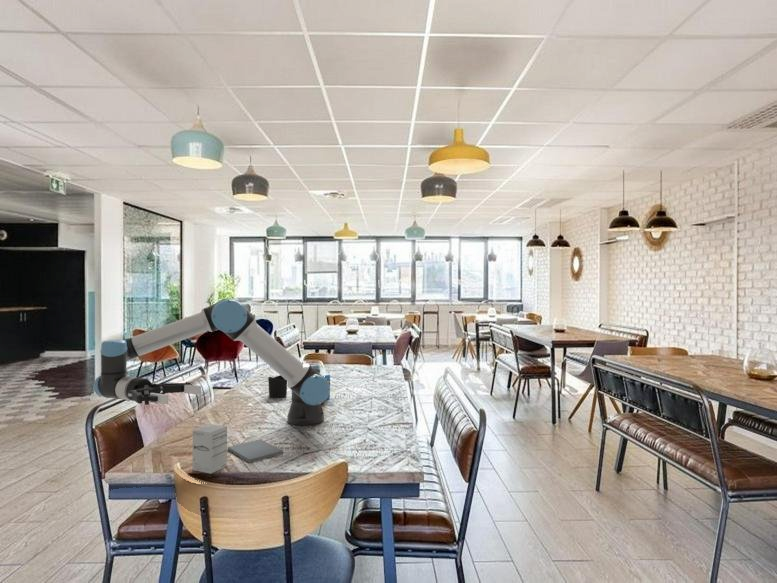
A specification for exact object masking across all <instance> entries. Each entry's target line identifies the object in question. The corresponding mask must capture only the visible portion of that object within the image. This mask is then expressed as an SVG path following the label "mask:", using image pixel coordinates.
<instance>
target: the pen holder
mask: <svg viewBox="0 0 777 583" xmlns="http://www.w3.org/2000/svg"><path fill="white" fill-rule="evenodd" d="M267 379H268V381H267V382H268V397H269V398H271V399H283V398H286V397H287V394H288V392H287V391H288V381H287V380H286V379H284V378H283V377H282V376H281V375H280V374H279V375H277V376H274V377H272V376H268V378H267Z"/></svg>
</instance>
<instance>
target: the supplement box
mask: <svg viewBox="0 0 777 583" xmlns="http://www.w3.org/2000/svg"><path fill="white" fill-rule="evenodd" d="M227 466H228V426H227V425H220V424H215V423H207V424H204V425H202V426H199V427H196V428H194V429H192V471H194V472H200V473H205V474H209V475H212V474H213V473H215V472H218V471H220V470H221V469H223V468H225V467H227Z"/></svg>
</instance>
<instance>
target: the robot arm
mask: <svg viewBox="0 0 777 583" xmlns="http://www.w3.org/2000/svg"><path fill="white" fill-rule="evenodd" d="M218 330H219V331H221V332H223V333H224V334H225V335H226V336H228V338H230V339H231V340H232V341H233V342H236V341H239V342H241V344H244V345H245V347H247V348H248V349H250V351H251V352H253V353H254V354H255V355H256V356H257V357H259V358H260V359H261V360H262V361H264V363H266V364H267V366H269V367H270V368H272V369H273V370H274V371H275V372H276V373H277V374H279V376H280V375H281V376H282V377H283V378H284V379H286V380H287V388H289V389H290V390H291V403H290V406H289V410H288V413H287V418H286V419H287V423H288V424H290V425H295V426H309V425H311V424H312V425H316V423H317V424H320V423H323V421H324V420H325V412H324V410H323V408H322V404H323V403H324V402H325V401H326V400H327V399H326V398H327V397H328V395H329V392H330V393H331V384H330V385H329V382H328V380H327V379H326V378H325V377H324V376H325V375H322V374H321V368H320V366H319V364H310V363H302V362H301V361H300V360H299V359H298V358H297V357H296V356H295V355H294V354H292V353H291V352H290V351H288V350H287V349H286V348H285V347H284V346H283V345H282V344H281V343H279V342H278V341H277V340H276V339H275V338H274V337H273V336H272V335H270V333H268V332H267V331H266V330H265V329H264V328H263V327H261V326H260V325H259V323H257V316H255V315H254V314H253V313H252V312H250V311H249V310H248V309H247V308H246V307H245V305H244V304H243V303H242V302H240V301H239V300H237V299H234V298H223V299H220V300H219V301H217V302H215V303H213V304H212V305H210V306H207V307H205V308H202V309H201V311H200V312H198V313H196V314H193V315H189V316H187V317H184V318H182V319H179V320H176V321H173V322H170V323H168V324H164V325H163V326H160V327H156V328H154V329H151V330H148V331H146V332H142V333H140V334H136V335H134V336H131V337H130V338H129V337H128V338H126V339H108V340H103V341H102V342H101V343H100V345H101V347H100V351H99V352H100V375H99V376H98V377H96V379H95V381H94V382H93V386H92V387H93V388H92V389H93V392H94V393H95V394H96V395H97V396H99V397H103V398H106V399H118V400H126V402H130V401H132V402H135V403H137V404H138V405H139V404H140V405H141V404H143V402H144V405H145V406H149V405H150V403H154V404H161V405H169V394H175V393H176V394H177V393H184V394H188V395H197V396H200V395H202V386H201V385H194V384H193V385H192V384H191V382H188V381H186V382H179V383H178V382H175V383H171V382H169V383H168V382H161V383H152V382H151V381H150V379H148V378H146V377H145V378H144V377H137V376H136V377H134V376H127V368H128V367H127V365H128V363H127V362H128V361H131V360H134V359H136V358H138V357H140V356H144V355H146V354H149V353H152V352H155V351H158V350H160V349H162V348H165V347H168V346H170V345H174V344H177V343H178V342H181V341H184V340H187V339H189V338H192V337H195V336H197V335H199V334H203V333H205V332H211V333H213V332H216V331H218ZM312 425H311V426H312Z"/></svg>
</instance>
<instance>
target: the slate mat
mask: <svg viewBox="0 0 777 583" xmlns="http://www.w3.org/2000/svg"><path fill="white" fill-rule="evenodd" d="M227 451H229V452H231V453H232V452H233V454H234V455H236V456H237V455H238V456H237V457H239V458H241V459H243V460H245V461H246V462H248V463H253V461H254V462H257V460H258V461H260V460H264V458H265V459H268V457H269V458H272V457H275V455H276V456H279V455H283V454H284V450H283V449H281V448H279V447H277V446H275V445H273V444H271V443H270V442H267V441H264V440H263V439H260V438H259V439H255V440H251V441H246V442H243V443H239V444H234V445H230V446H227ZM282 453H283V454H282ZM278 454H279V455H278Z"/></svg>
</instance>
